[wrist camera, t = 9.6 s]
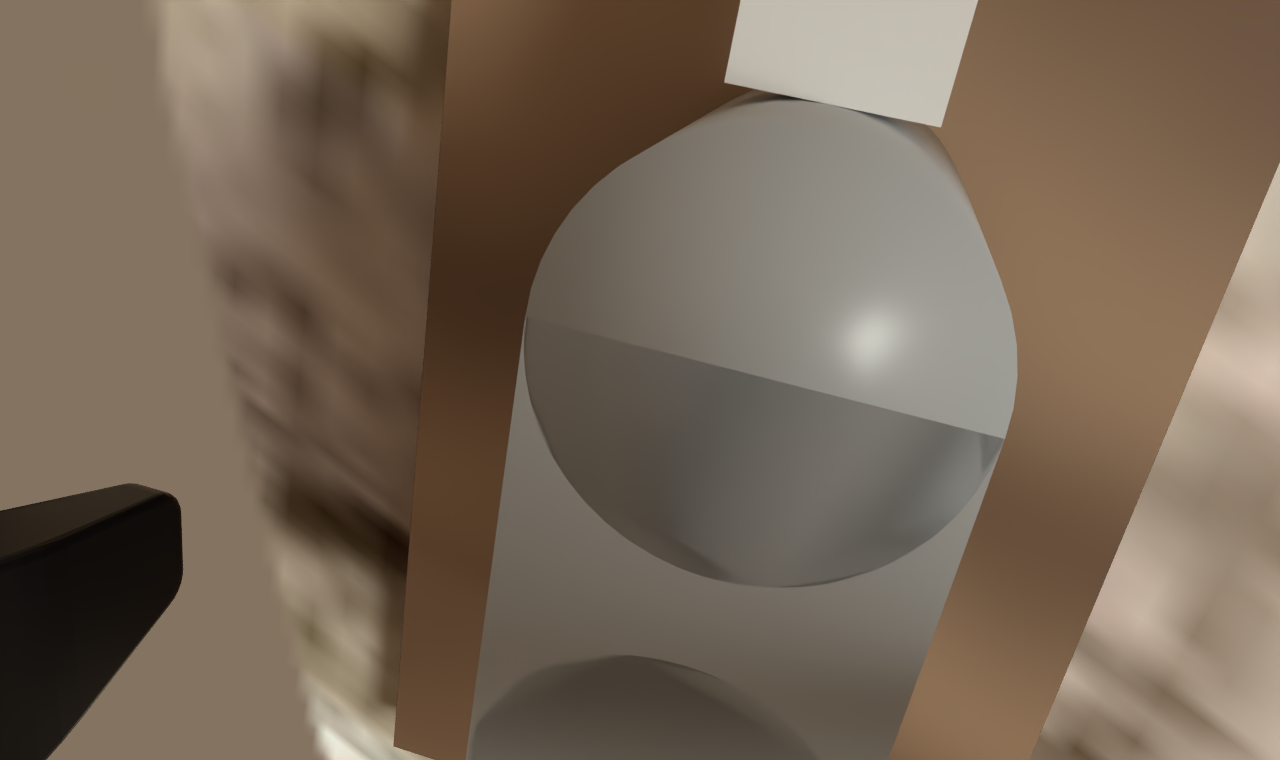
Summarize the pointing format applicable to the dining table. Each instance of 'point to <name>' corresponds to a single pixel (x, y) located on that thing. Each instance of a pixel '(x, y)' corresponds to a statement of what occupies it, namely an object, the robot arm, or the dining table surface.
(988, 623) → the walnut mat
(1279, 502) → the dining table surface
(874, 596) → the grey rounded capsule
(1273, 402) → the dining table surface
